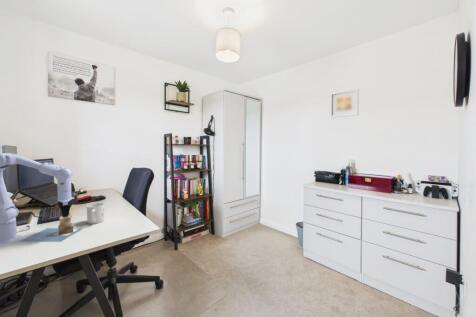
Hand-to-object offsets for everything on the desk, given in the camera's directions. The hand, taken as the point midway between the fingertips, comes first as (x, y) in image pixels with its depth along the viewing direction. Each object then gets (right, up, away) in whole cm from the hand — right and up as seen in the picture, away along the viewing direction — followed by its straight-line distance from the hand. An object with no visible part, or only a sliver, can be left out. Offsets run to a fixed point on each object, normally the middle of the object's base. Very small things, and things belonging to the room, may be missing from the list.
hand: (65, 214), depth 112 cm
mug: (+6, -10, +15) cm, 19 cm away
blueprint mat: (-4, -10, -2) cm, 11 cm away
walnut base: (0, -10, +1) cm, 10 cm away
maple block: (0, -6, 0) cm, 6 cm away
